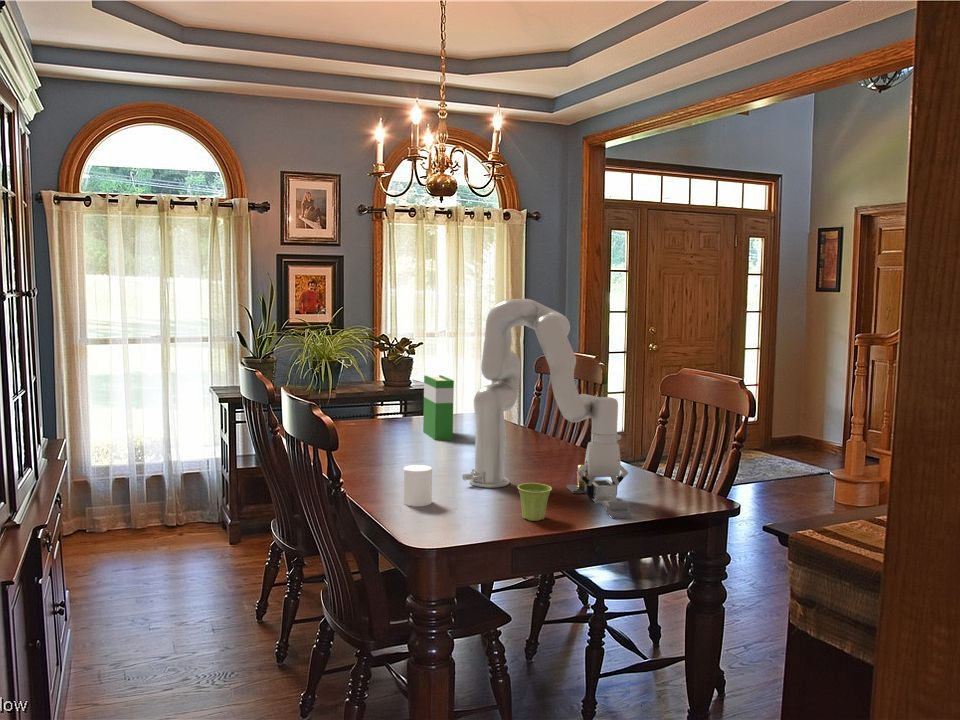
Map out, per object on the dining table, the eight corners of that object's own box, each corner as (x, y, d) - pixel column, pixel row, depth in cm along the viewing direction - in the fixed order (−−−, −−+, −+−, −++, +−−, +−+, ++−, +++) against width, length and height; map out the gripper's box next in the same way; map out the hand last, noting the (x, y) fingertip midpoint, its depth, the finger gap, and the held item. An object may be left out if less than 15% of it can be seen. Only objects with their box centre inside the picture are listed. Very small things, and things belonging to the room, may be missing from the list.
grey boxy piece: (629, 518, 226) (630, 504, 226) (612, 518, 226) (612, 504, 225) (623, 513, 231) (624, 499, 231) (606, 513, 231) (607, 499, 230)
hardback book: (423, 432, 344) (424, 375, 341) (440, 431, 346) (441, 375, 344) (434, 440, 327) (436, 380, 325) (452, 439, 330) (453, 380, 327)
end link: (616, 502, 242) (616, 486, 241) (595, 503, 241) (595, 486, 240) (607, 495, 250) (608, 479, 249) (587, 495, 249) (587, 479, 248)
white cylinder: (405, 471, 231) (399, 462, 242) (405, 507, 232) (399, 496, 243) (434, 470, 233) (427, 461, 244) (433, 506, 234) (426, 495, 245)
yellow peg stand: (594, 493, 252) (595, 468, 251) (572, 493, 251) (573, 468, 250) (588, 487, 259) (589, 462, 258) (566, 488, 258) (567, 463, 257)
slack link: (620, 511, 233) (621, 506, 233) (608, 511, 232) (608, 506, 232) (614, 505, 239) (614, 500, 239) (602, 505, 238) (602, 500, 238)
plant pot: (548, 513, 229) (549, 483, 228) (552, 523, 220) (553, 491, 219) (515, 512, 229) (516, 482, 228) (518, 522, 220) (518, 491, 219)
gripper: (627, 436, 248) (625, 493, 250) (572, 436, 246) (570, 494, 248) (636, 441, 241) (633, 500, 243) (579, 441, 238) (576, 501, 240)
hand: (601, 497), depth 245 cm, fingers closed on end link, 6 cm apart
